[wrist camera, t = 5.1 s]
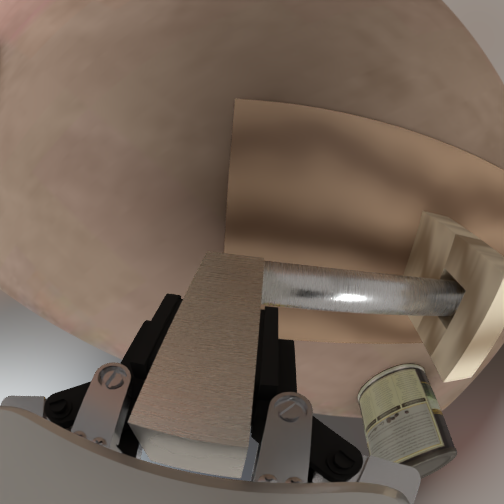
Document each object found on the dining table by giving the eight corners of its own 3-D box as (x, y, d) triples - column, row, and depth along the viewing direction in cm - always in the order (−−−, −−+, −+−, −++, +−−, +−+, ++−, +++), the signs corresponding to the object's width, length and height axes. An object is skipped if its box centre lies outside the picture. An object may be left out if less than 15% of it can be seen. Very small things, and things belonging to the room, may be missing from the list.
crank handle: (210, 287, 17) (150, 460, 6) (211, 242, 15) (127, 422, 5) (453, 307, 16) (523, 418, 6) (469, 272, 15) (556, 379, 5)
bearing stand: (237, 100, 18) (191, 63, 7) (523, 182, 17) (597, 222, 6) (223, 322, 26) (197, 427, 16) (467, 332, 26) (508, 398, 15)
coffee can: (438, 364, 28) (473, 445, 15) (398, 408, 32) (417, 482, 20) (383, 359, 28) (414, 462, 15) (343, 406, 32) (355, 494, 19)
